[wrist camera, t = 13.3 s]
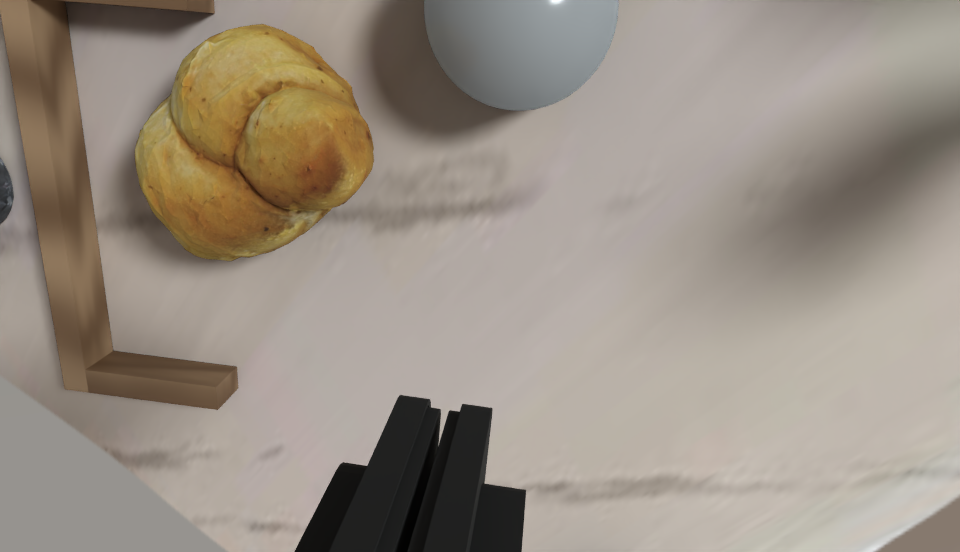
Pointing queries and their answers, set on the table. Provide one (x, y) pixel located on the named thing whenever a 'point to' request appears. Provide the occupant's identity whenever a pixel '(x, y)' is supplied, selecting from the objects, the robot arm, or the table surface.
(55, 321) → the brown angled bar
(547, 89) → the grey glossy rounded piece
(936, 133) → the table surface
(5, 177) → the pill bottle
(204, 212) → the bread roll
